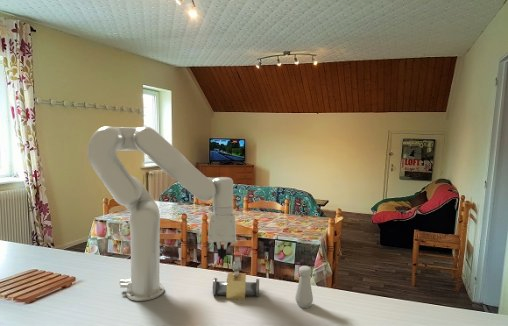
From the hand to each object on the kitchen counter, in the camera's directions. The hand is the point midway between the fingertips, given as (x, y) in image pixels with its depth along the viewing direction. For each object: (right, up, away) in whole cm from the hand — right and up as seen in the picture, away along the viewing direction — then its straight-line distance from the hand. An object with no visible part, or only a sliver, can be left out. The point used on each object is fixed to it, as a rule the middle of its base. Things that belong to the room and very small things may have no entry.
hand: (222, 258), depth 120 cm
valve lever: (+6, -1, -4) cm, 7 cm away
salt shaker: (+29, -12, -14) cm, 34 cm away
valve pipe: (+6, -11, -8) cm, 14 cm away
